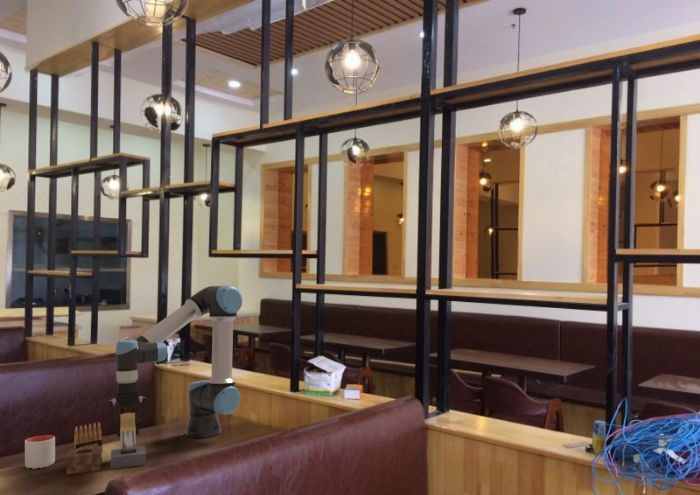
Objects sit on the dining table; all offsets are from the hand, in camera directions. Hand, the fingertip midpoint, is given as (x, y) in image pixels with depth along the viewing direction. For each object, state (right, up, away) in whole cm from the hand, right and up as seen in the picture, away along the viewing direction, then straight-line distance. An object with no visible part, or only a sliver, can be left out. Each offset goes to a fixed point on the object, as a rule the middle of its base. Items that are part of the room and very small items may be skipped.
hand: (128, 444), depth 227 cm
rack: (-14, -7, -6) cm, 16 cm away
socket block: (0, -7, 0) cm, 7 cm away
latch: (+3, +8, -8) cm, 12 cm away
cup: (-33, -8, -1) cm, 34 cm away
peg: (0, -7, 0) cm, 7 cm away
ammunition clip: (-20, -8, +12) cm, 25 cm away
